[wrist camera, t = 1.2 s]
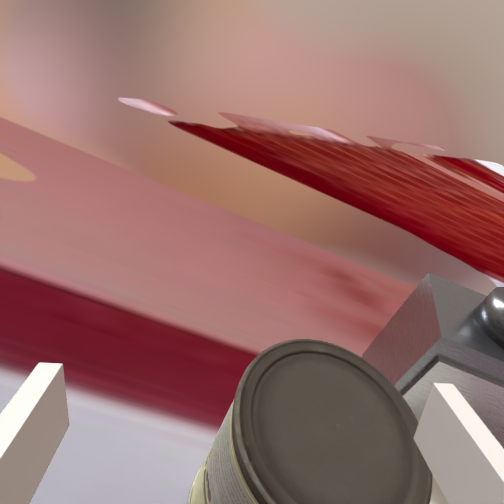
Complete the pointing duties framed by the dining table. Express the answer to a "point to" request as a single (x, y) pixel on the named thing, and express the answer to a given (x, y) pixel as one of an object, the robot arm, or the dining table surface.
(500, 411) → the motor block
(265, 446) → the coffee can
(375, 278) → the dining table surface
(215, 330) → the dining table surface
